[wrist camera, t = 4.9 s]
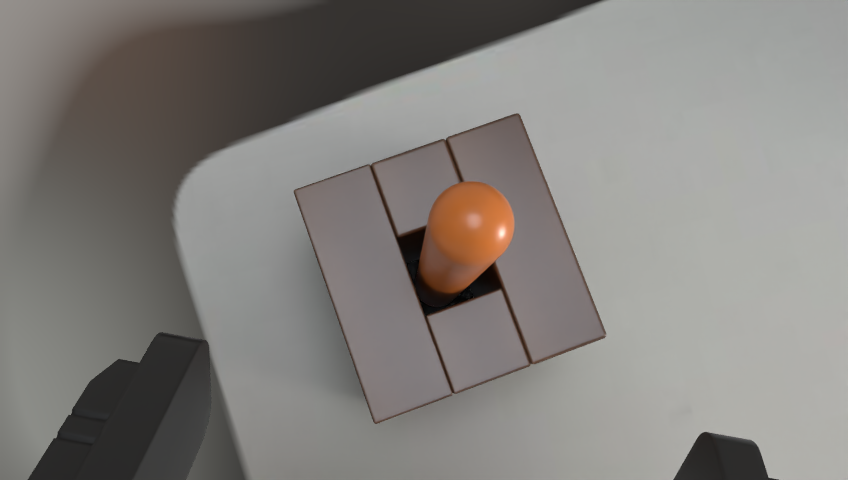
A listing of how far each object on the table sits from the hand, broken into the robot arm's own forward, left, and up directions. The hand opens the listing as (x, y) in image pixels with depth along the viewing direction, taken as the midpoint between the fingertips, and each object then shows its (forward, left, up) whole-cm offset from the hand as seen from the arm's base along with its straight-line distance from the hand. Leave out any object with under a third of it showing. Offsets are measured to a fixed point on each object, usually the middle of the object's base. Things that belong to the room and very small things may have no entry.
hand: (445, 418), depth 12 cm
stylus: (+2, +3, -14) cm, 15 cm away
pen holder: (+2, +3, -14) cm, 15 cm away
